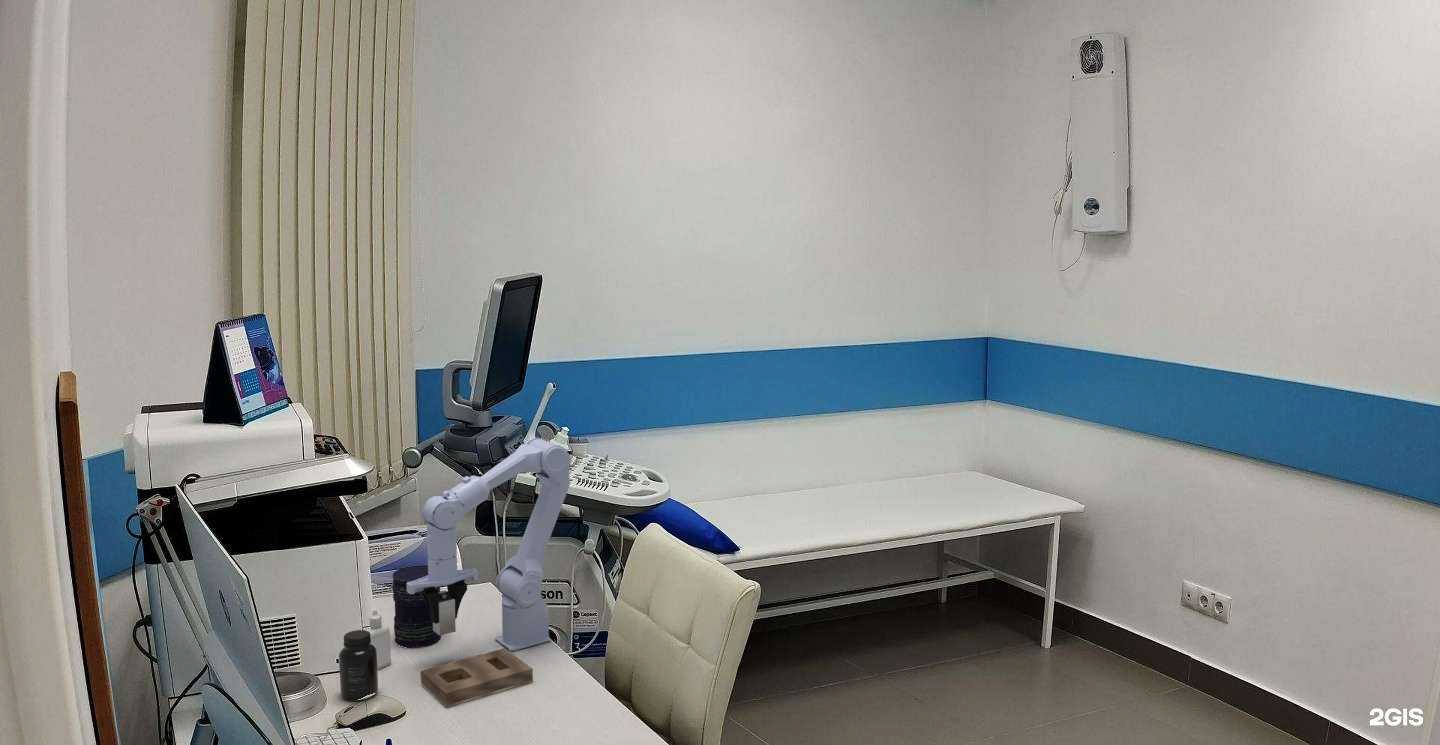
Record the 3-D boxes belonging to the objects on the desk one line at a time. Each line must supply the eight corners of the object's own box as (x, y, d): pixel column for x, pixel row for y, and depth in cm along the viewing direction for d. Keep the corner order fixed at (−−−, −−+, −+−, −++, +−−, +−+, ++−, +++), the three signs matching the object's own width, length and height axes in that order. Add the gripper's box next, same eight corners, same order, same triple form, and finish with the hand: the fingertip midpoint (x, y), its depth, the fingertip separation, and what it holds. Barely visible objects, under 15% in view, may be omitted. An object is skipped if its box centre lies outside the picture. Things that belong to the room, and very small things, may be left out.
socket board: (504, 660, 213) (504, 648, 213) (532, 681, 204) (532, 668, 204) (421, 684, 202) (420, 670, 202) (446, 707, 193) (446, 693, 193)
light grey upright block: (448, 626, 214) (447, 588, 213) (455, 631, 211) (454, 593, 210) (433, 630, 212) (431, 592, 211) (439, 635, 209) (438, 597, 208)
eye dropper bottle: (392, 668, 209) (390, 611, 207) (363, 673, 207) (361, 615, 205) (389, 659, 213) (387, 604, 211) (361, 664, 211) (358, 608, 209)
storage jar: (429, 650, 218) (427, 582, 216) (385, 646, 219) (383, 579, 217) (449, 632, 227) (447, 566, 225) (407, 628, 229) (405, 563, 227)
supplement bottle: (385, 689, 200) (383, 630, 198) (362, 704, 194) (360, 644, 192) (356, 683, 202) (354, 625, 200) (332, 698, 196) (330, 638, 194)
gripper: (467, 543, 217) (468, 605, 219) (399, 557, 208) (402, 621, 210) (482, 552, 211) (483, 616, 213) (413, 566, 202) (415, 632, 204)
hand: (444, 619), depth 211 cm, fingers closed on light grey upright block, 3 cm apart
